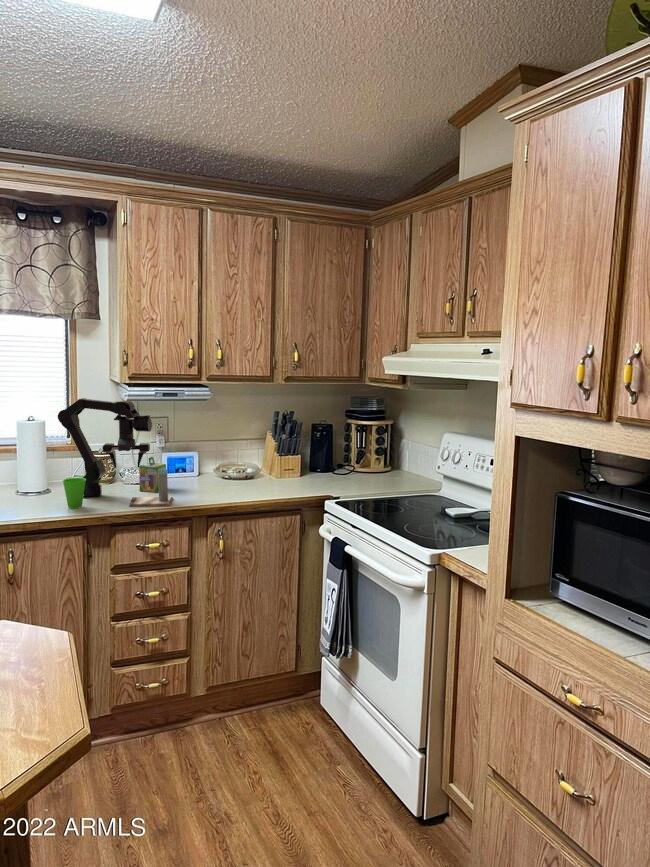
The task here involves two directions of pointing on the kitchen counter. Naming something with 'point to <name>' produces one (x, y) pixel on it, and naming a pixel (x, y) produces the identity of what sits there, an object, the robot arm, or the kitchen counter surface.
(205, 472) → the kitchen counter surface
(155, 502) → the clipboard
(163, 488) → the marker
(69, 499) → the cup
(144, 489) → the chalk box
